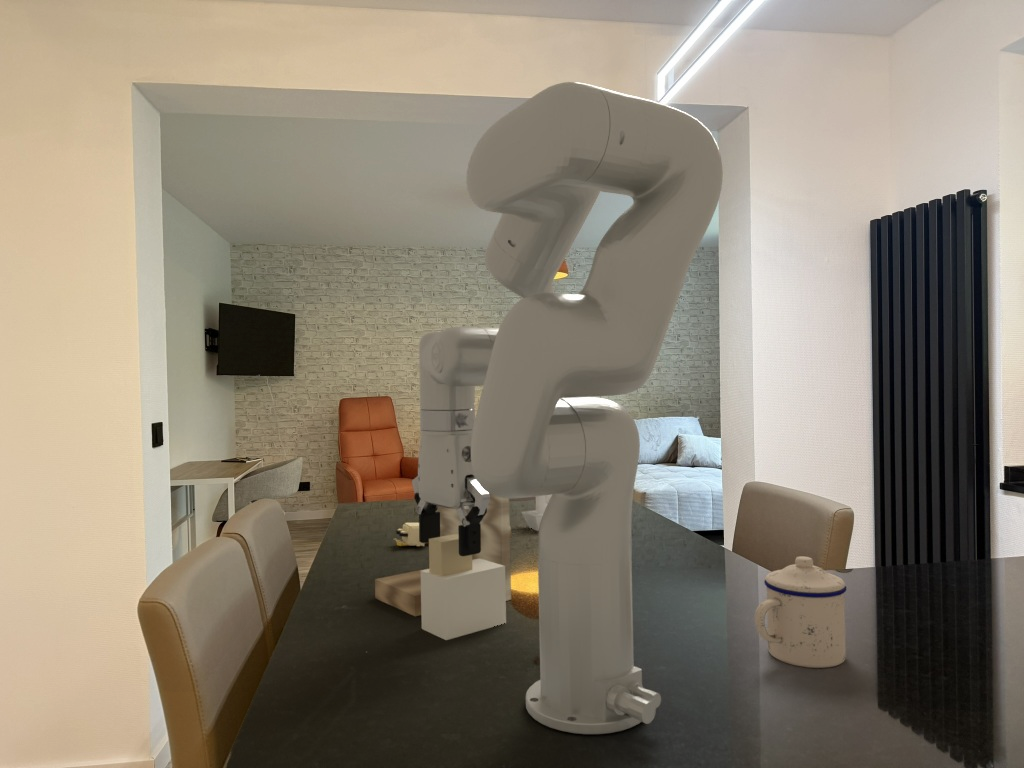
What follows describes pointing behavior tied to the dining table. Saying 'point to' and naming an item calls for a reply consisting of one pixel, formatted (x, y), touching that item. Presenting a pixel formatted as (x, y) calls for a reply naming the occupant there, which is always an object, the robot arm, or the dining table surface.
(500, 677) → the dining table surface
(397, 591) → the wooden l-shaped stand
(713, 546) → the dining table surface
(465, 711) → the dining table surface
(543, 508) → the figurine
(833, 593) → the teacup with lid
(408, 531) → the cat figure
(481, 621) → the beige and white blocks
